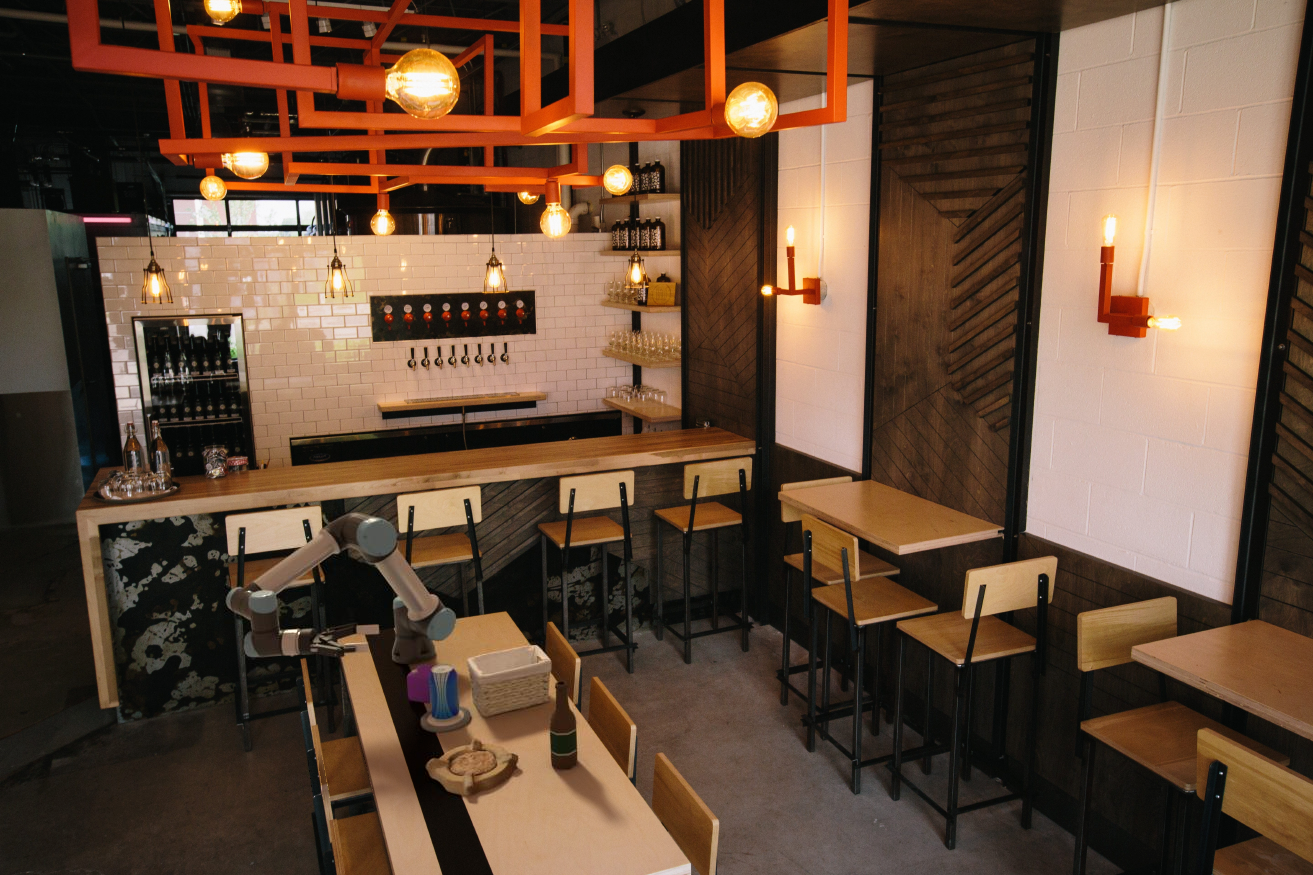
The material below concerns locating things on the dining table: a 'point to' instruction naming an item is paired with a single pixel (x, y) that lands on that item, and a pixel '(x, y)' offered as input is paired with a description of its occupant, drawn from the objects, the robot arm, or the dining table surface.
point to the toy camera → (419, 684)
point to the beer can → (444, 693)
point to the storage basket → (509, 679)
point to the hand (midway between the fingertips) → (373, 637)
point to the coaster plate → (440, 727)
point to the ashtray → (473, 768)
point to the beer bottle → (563, 731)
